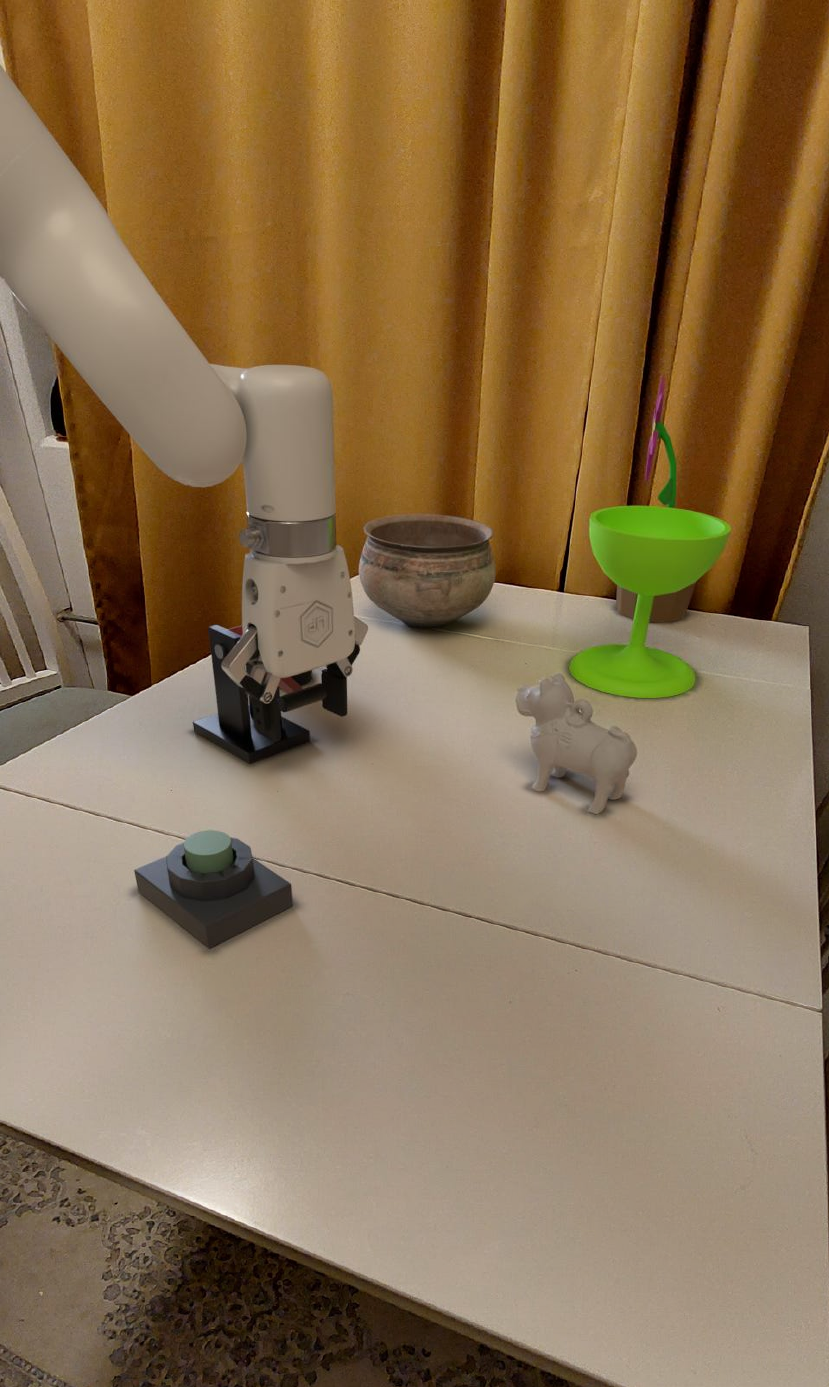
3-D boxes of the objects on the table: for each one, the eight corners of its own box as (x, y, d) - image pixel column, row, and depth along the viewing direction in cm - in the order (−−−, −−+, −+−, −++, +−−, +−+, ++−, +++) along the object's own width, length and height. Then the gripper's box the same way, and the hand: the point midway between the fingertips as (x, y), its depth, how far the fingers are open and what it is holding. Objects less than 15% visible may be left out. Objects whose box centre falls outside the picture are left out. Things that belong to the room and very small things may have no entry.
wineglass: (714, 669, 113) (751, 521, 102) (665, 709, 103) (699, 548, 92) (602, 641, 121) (625, 499, 110) (545, 675, 110) (564, 522, 99)
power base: (137, 892, 71) (129, 850, 68) (220, 855, 76) (215, 815, 73) (209, 949, 65) (203, 906, 63) (293, 906, 70) (290, 864, 68)
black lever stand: (310, 740, 94) (305, 631, 86) (249, 764, 89) (238, 650, 82) (253, 711, 99) (244, 606, 92) (193, 731, 94) (179, 622, 87)
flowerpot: (603, 592, 138) (638, 369, 120) (696, 601, 136) (746, 374, 118) (600, 622, 127) (638, 380, 109) (702, 631, 125) (758, 386, 107)
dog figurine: (524, 759, 92) (536, 660, 85) (635, 798, 86) (656, 694, 79) (496, 777, 88) (505, 675, 82) (608, 819, 82) (628, 712, 76)
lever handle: (325, 705, 87) (329, 685, 85) (285, 719, 84) (288, 698, 82) (254, 641, 91) (256, 621, 89) (213, 653, 88) (215, 632, 86)
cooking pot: (505, 652, 116) (514, 555, 109) (363, 652, 115) (362, 554, 107) (478, 593, 136) (484, 508, 128) (356, 593, 134) (355, 507, 127)
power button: (177, 860, 68) (174, 841, 67) (215, 843, 70) (213, 825, 69) (203, 879, 66) (201, 860, 65) (242, 862, 68) (240, 843, 67)
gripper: (235, 562, 69) (254, 764, 79) (395, 527, 79) (392, 711, 89) (182, 542, 73) (206, 737, 83) (340, 512, 83) (343, 689, 93)
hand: (302, 723), depth 86 cm, fingers open, 7 cm apart
